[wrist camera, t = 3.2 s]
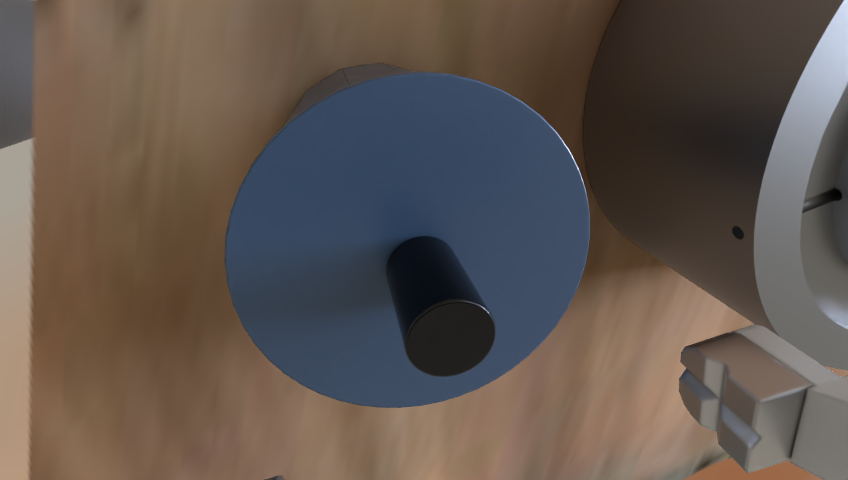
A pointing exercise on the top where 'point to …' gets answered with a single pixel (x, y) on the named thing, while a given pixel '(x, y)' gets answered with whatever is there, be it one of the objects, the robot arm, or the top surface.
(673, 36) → the container
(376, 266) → the tin lid
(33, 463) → the top surface
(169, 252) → the top surface
